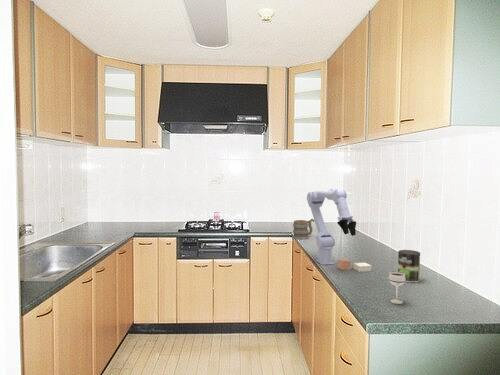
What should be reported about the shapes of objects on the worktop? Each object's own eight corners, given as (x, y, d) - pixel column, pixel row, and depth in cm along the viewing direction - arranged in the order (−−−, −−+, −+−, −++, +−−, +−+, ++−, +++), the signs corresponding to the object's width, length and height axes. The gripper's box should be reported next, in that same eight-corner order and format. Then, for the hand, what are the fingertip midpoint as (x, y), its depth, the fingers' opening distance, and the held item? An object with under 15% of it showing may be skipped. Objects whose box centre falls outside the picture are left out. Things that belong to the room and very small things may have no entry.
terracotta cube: (338, 267, 213) (338, 258, 213) (346, 267, 214) (346, 258, 214) (341, 269, 208) (342, 261, 208) (350, 269, 209) (350, 260, 209)
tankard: (297, 240, 295) (297, 221, 294) (289, 237, 306) (289, 219, 305) (319, 238, 303) (319, 219, 302) (310, 235, 314) (310, 217, 314)
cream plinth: (353, 268, 211) (353, 263, 210) (365, 267, 212) (365, 262, 212) (359, 271, 204) (359, 266, 204) (371, 271, 205) (371, 265, 205)
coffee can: (413, 284, 182) (414, 255, 182) (393, 279, 190) (394, 251, 189) (423, 279, 189) (424, 252, 188) (404, 275, 197) (404, 248, 196)
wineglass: (400, 298, 162) (401, 271, 161) (408, 304, 155) (408, 275, 155) (385, 298, 162) (385, 271, 161) (392, 304, 155) (392, 275, 154)
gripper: (343, 206, 197) (350, 230, 192) (356, 210, 208) (363, 233, 202) (331, 210, 201) (338, 234, 196) (345, 214, 212) (351, 237, 206)
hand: (350, 234), depth 199 cm, fingers open, 7 cm apart
